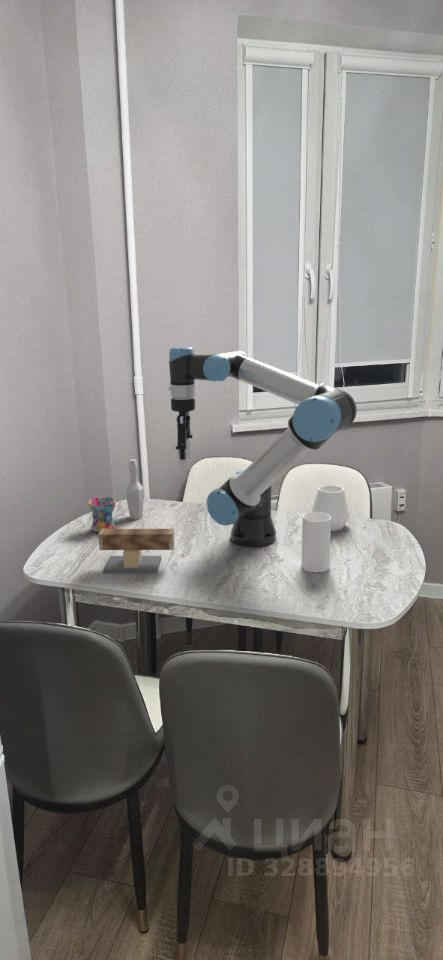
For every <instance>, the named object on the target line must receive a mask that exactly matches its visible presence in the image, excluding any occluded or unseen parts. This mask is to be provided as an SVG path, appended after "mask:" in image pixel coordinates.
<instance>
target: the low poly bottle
mask: <svg viewBox="0 0 443 960" xmlns="http://www.w3.org/2000/svg"><path fill="white" fill-rule="evenodd" d="M138 465H139V464H138V461H137V459H133V458H132V459H129V463H128V469H129V480H130V481H129V483H128V485H127V486H126V487H125V489H126V490H125V491H126V502H127V503H126V504H127V507H128V513H129V519H130V520H140V519H142V518H143V515H144V514H143V512H144V511H143V510H144V488H143V485H142V484H141V483H140V482H139V476H138V475H139V473H138V470H139V468H138V467H139V466H138Z"/></svg>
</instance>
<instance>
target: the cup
mask: <svg viewBox="0 0 443 960" xmlns="http://www.w3.org/2000/svg"><path fill="white" fill-rule="evenodd" d="M301 527H302V529H301V530H302V531H301V533H302V536H301V537H302V539H301V568H302V570H303V571H306V572H308V571H309V572H308V573H312V572H315V573H314V574H319V573H318V572H321V573H325V572H328V571H329V570H330V562H331V561H330V559H331V534H332V533H331V532H332V531H331V516H330V515H328V514H326V513H321V512H312V511H310V512H307V513H304V514H303V515H302V526H301ZM328 569H329V570H328ZM316 572H317V573H316Z"/></svg>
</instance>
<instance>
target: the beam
mask: <svg viewBox="0 0 443 960" xmlns="http://www.w3.org/2000/svg"><path fill="white" fill-rule="evenodd" d="M97 539H98V550H99V551H124V550H141V551H174V548H175V528H174V527H173V528H115V529H101V530H100V532H98V535H97Z"/></svg>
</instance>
